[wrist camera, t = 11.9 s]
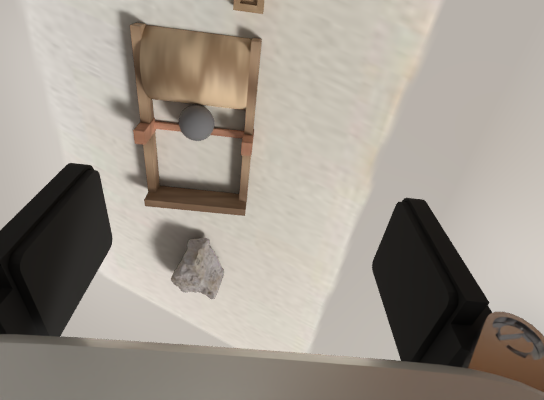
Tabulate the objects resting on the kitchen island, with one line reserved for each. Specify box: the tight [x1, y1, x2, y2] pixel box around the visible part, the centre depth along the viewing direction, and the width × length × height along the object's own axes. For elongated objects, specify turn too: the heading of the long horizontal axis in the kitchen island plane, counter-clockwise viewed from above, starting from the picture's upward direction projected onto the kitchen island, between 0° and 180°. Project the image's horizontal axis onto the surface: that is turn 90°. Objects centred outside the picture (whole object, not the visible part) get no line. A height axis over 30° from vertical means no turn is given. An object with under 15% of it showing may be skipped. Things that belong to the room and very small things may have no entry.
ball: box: [179, 105, 214, 141], centre depth 39 cm, size 4×4×4 cm
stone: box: [171, 238, 224, 299], centre depth 51 cm, size 8×10×6 cm
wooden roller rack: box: [130, 23, 262, 216], centre depth 42 cm, size 21×13×9 cm, turn 173°
